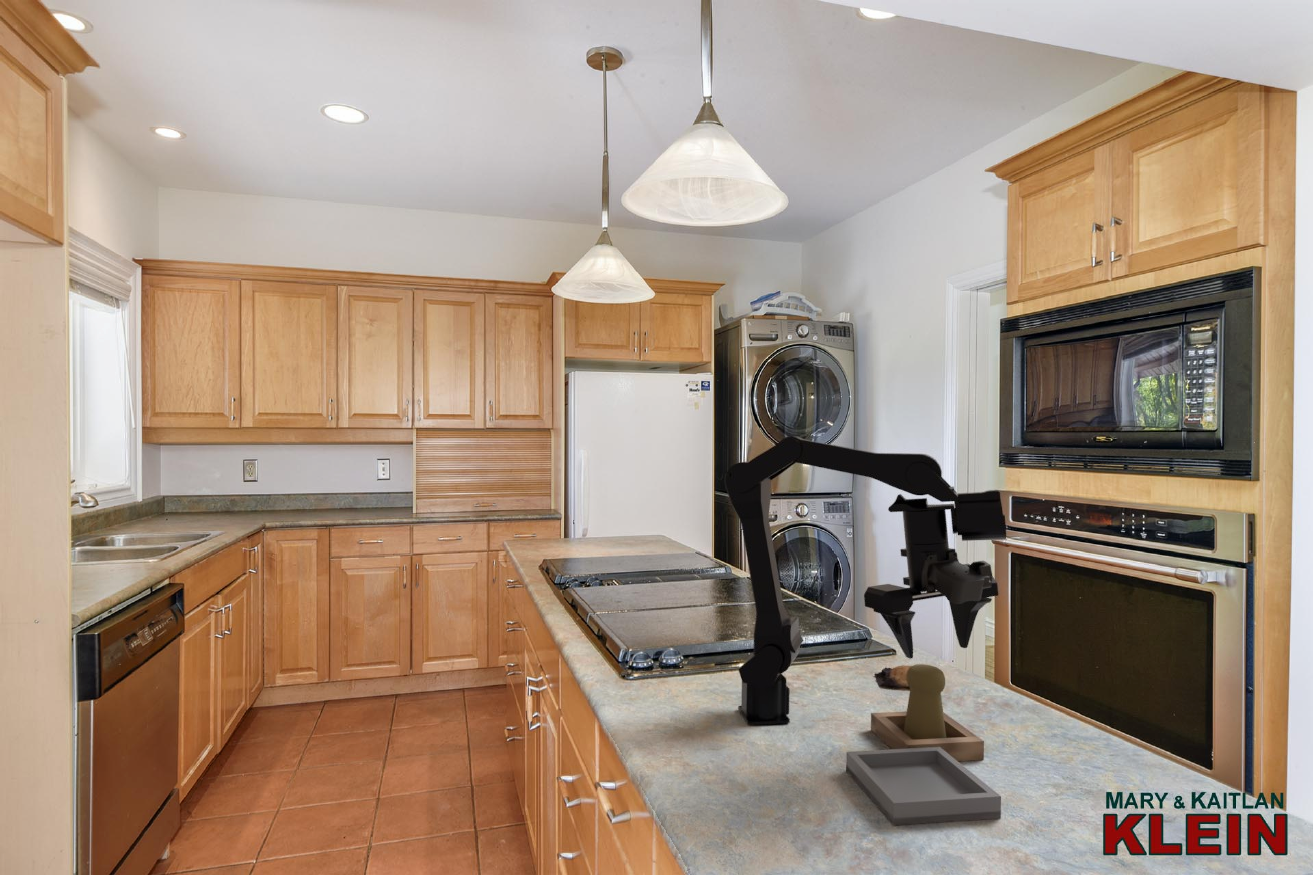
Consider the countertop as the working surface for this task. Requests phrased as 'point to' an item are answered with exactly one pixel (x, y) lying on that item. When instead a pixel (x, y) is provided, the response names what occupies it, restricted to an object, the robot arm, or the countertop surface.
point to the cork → (925, 703)
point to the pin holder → (955, 744)
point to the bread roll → (893, 678)
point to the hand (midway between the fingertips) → (936, 652)
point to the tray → (922, 786)
